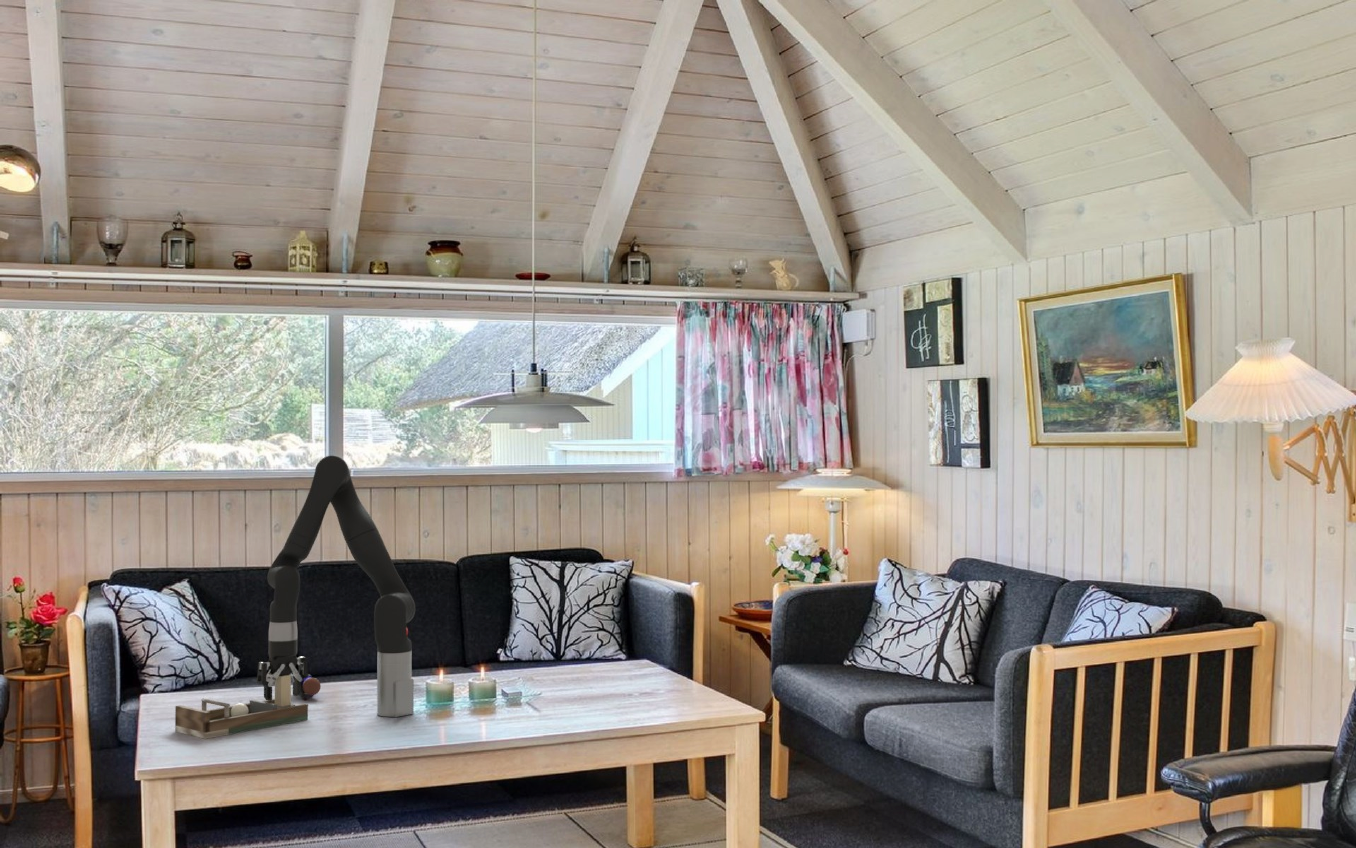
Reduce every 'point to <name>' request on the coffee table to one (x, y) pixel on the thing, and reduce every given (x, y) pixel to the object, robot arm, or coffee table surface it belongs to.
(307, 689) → the character figurine
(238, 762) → the coffee table surface
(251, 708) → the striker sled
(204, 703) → the channel
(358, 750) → the coffee table surface
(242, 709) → the ball
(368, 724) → the coffee table surface
